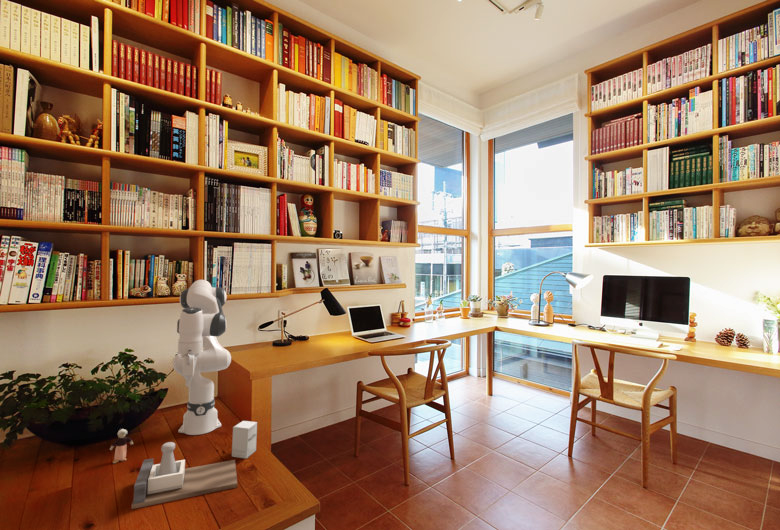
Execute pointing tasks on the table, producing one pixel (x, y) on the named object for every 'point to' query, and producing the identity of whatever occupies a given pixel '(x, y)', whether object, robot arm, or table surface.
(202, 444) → the table surface
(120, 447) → the grandmother figurine
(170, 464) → the salt shaker
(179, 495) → the board
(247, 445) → the supplement box
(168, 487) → the frame
